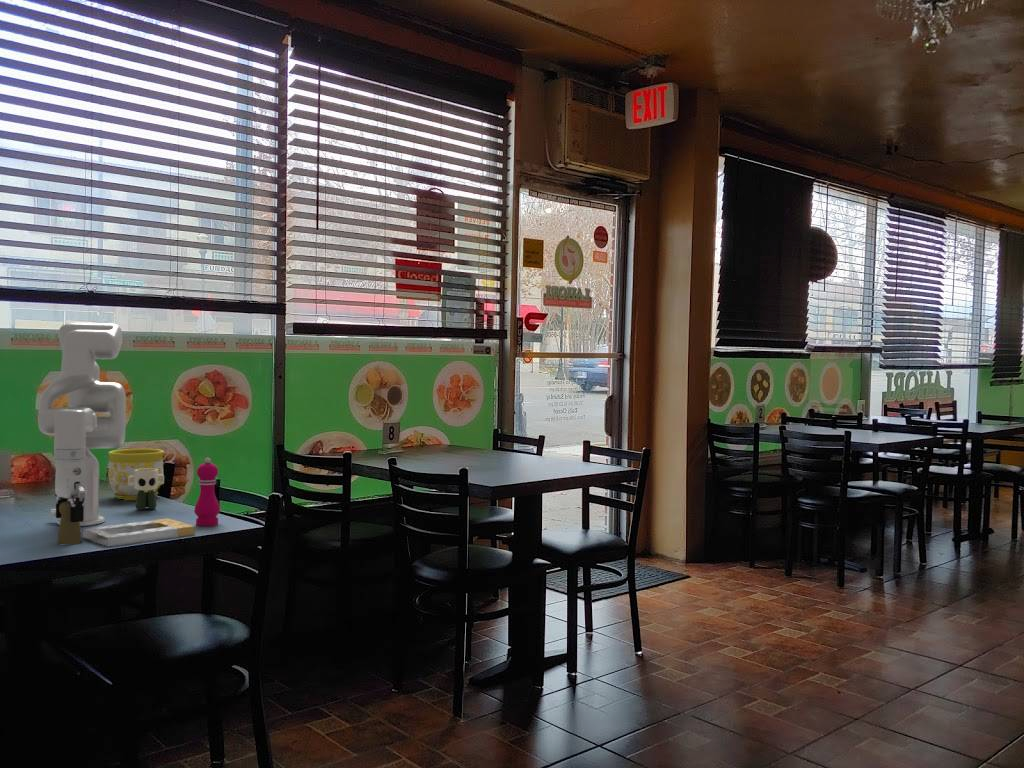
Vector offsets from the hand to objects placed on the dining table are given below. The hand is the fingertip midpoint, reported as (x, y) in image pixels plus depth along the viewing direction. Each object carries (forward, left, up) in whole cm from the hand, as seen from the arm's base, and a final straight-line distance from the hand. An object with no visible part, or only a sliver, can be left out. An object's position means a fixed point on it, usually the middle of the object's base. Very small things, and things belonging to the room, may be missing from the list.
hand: (69, 519), depth 234 cm
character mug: (+1, +52, -7) cm, 52 cm away
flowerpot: (-11, +75, -7) cm, 76 cm away
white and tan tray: (+15, +10, -6) cm, 19 cm away
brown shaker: (0, +1, -7) cm, 6 cm away
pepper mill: (+28, +28, -7) cm, 40 cm away
